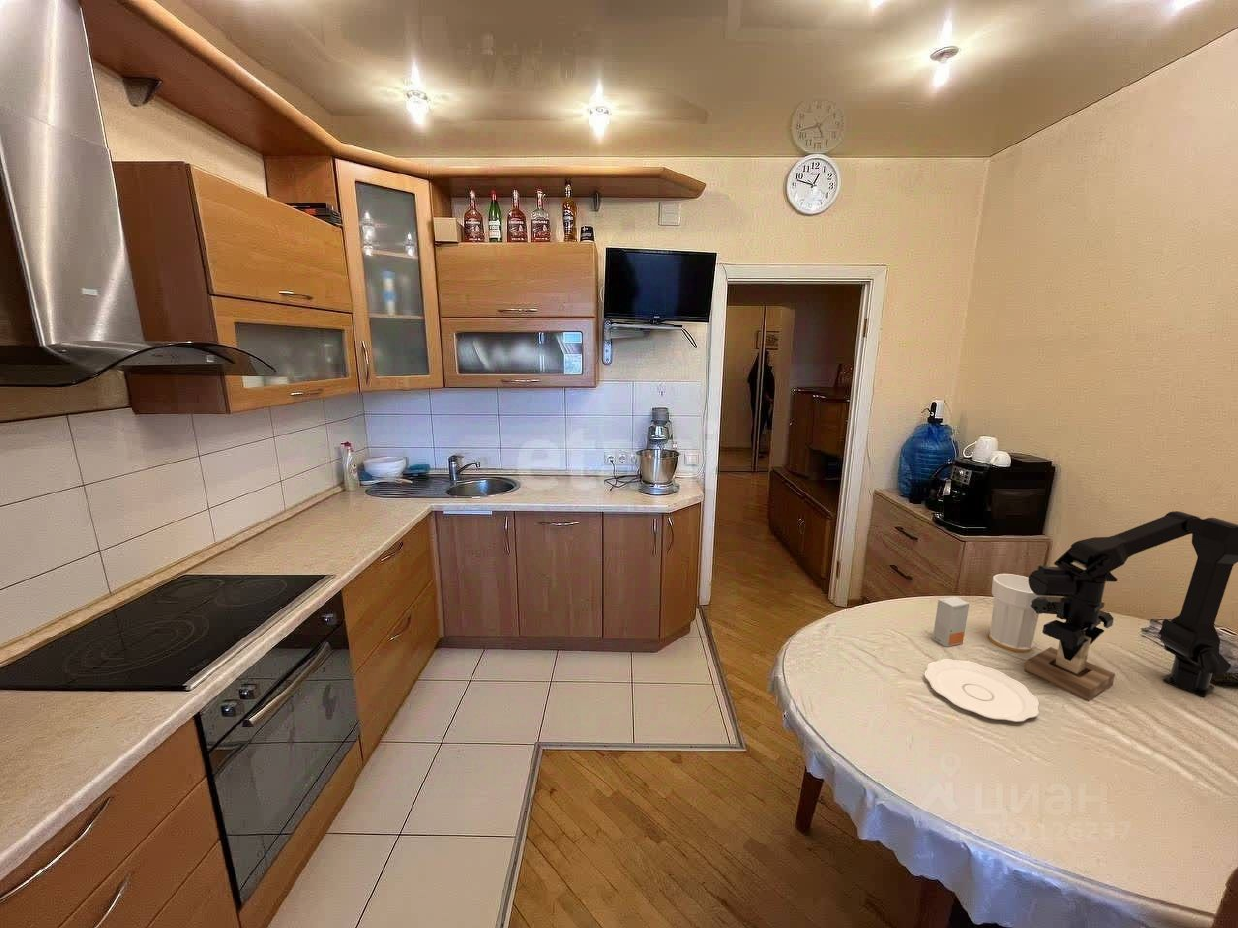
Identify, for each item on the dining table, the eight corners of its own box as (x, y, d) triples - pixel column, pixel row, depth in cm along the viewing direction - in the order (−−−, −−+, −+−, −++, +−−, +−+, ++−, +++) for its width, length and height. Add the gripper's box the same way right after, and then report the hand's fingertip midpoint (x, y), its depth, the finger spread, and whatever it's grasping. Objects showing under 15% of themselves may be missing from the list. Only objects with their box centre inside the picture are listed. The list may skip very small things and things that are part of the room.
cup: (1049, 655, 122) (1061, 592, 119) (1005, 655, 123) (1015, 593, 119) (1014, 630, 133) (1024, 573, 130) (973, 631, 134) (982, 573, 130)
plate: (1062, 733, 97) (1063, 726, 97) (948, 719, 101) (949, 712, 101) (1003, 669, 117) (1004, 663, 117) (910, 660, 121) (911, 654, 121)
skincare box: (946, 647, 126) (952, 606, 124) (932, 639, 130) (937, 598, 128) (964, 644, 128) (970, 603, 125) (949, 635, 132) (955, 595, 129)
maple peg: (1063, 659, 115) (1069, 629, 114) (1084, 668, 112) (1091, 637, 110) (1055, 664, 114) (1061, 634, 112) (1076, 673, 110) (1083, 642, 109)
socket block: (1048, 657, 121) (1050, 646, 121) (1112, 684, 111) (1115, 673, 110) (1024, 671, 116) (1026, 660, 116) (1088, 701, 106) (1091, 689, 105)
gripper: (1059, 574, 120) (1049, 630, 123) (1021, 590, 112) (1010, 650, 115) (1120, 592, 110) (1107, 652, 114) (1082, 612, 102) (1069, 676, 106)
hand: (1072, 656), depth 112 cm, fingers closed on maple peg, 4 cm apart
